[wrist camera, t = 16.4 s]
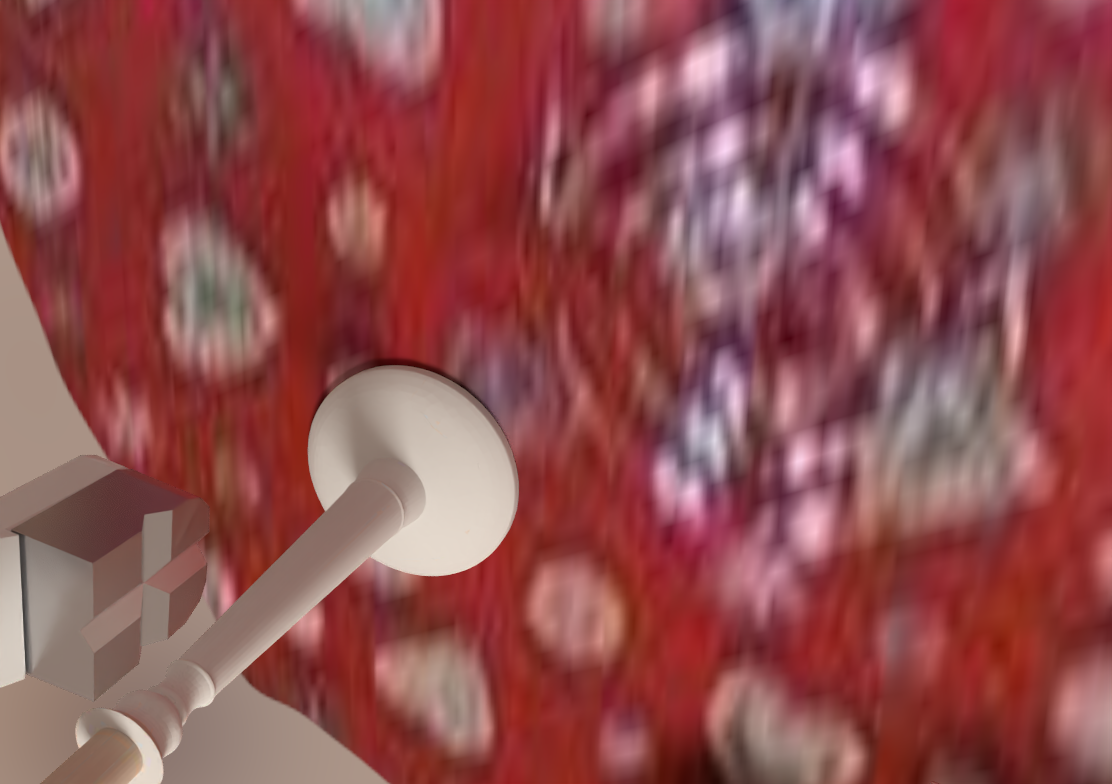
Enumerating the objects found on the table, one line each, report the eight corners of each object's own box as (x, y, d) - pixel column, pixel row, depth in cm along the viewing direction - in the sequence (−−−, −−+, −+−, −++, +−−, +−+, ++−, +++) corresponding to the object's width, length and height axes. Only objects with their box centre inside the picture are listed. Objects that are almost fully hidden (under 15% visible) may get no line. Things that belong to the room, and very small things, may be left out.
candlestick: (524, 584, 52) (163, 1162, 25) (327, 555, 55) (-170, 1031, 29) (513, 373, 47) (59, 801, 20) (300, 357, 51) (-319, 701, 24)
